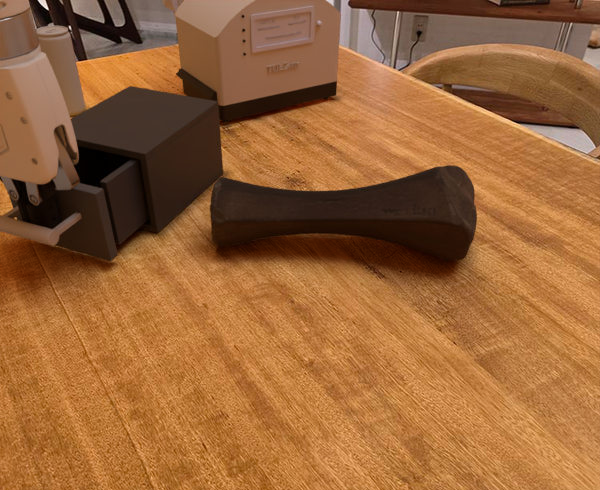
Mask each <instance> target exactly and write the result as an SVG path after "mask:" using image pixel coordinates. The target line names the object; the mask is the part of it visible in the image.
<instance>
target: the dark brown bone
mask: <svg viewBox="0 0 600 490" xmlns="http://www.w3.org/2000/svg"><path fill="white" fill-rule="evenodd" d="M475 197H476V196H475V187H474V183H473V181H472V180H471V178H470V177H469V176H468V173H467V172H466V171H465V169H463V168H462V167H459V166H458V165H453V164H452V165H444V166H442V165H441V166H435V167H432V168H431V167H430V168H429V169H426V170H423V171H420V172H416V173H414V174H410V175H407V176H404V177H400V178H397V179H392V180H389V181H385V182H380V183H376V184H372V185H371V184H370V185H367V186H360V187H354V188H346V189H336V190H333V189H332V190H297V189H288V188H287V189H286V188H278V187H271V186H265V185H259V184H254V183H249V182H244V181H241V180H237V179H233V178H229V177H224V176H220V177H219V178H218V179H217V180H216V181H215V182H214V184H213V187H212V190H211V195H210V205H209V211H210V212H209V214H210V215H209V216H210V226H211V228H210V229H211V231H210V232H211V233H210V234H211V239H212V240H211V241H212V243H213V244H214V245H215V246H218V247H229V246H235V245H241V244H245V243H248V242H254V241H259V240H263V239H269V238H275V237H277V238H278V237H283V236H284V237H285V236H295V235H315V234H317V235H318V234H319V235H341V236H352V237H361V238H366V239H373V240H377V241H383V242H386V243H391V244H394V245H399V246H402V247H406V248H409V249H412V250H416V251H417V252H421V253H424V254H426V255H430V256H433V257H435V258H438V259H441V260H444V261H447V262H456V261H462V260H464V259H466V258H467V255H468V253H469V250H470V247H471V245H472V243H473V241H474V239H475V234H476V230H477V222H478V213H477V207H476V205H475Z"/></svg>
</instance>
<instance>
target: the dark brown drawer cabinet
mask: <svg viewBox="0 0 600 490" xmlns="http://www.w3.org/2000/svg"><path fill="white" fill-rule="evenodd" d="M70 119H71V122H72V126H73V130H74V133H75V137H76V142H77V146H81V147H85V148H90V149H94V150H99V151H104V152H108V153H113V154H117V155H122V156H127V157H131V158H136V159H140V163H141V169H142V175H143V181H144V187H145V193H146V199H147V205H148V210H149V216H150V219H149V220H148V221H146V222H145V223H144V224H143V225H142V226H141V227H139V228H138V229H139V230H143V231H148V232H152V233H156V234H159V233H160V232H161V231H162V230H164V228H165V227H166V226H167V225H169V224H170V223H171V222H172V221H173V220H174V219H176V217H177V216H178V215H180V214H181V213H182V212H183V211H184V210H185V209H186V208H187V207H189V206H190V204H192V203H193V202H194V201H195V200H196V199H198V198H199V197H200V196H201V195H202V194H203V193H204V192H205V191H206V190H207V189H208V188H209V187H210V186H212V185H213V183H214V184H215V183H216V181H217V180H218V178H220V177H222V175H224V166H223V165H224V163H223V152H222V138H221V124H220V123H221V122H220V121H221V120H219V108H218V101H212V100H207V99H201V98H195V97H190V96H187V95H185V94H178V93H173V92H172V93H171V92H166V91H160V90H155V89H150V88H145V87H138V86H132V85H130V86H127V87H125V88H123V89H122V90H120V91H118V92H117V93H115V94H112V95H111V96H109V97H107V98H106V99H104V100H102V101H100V102H98V103H97V104H94V105H93V106H91V107H88V108H87V109H85V110H84V112H82V113H80V114H78V115H76V116H72V117H70Z"/></svg>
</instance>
